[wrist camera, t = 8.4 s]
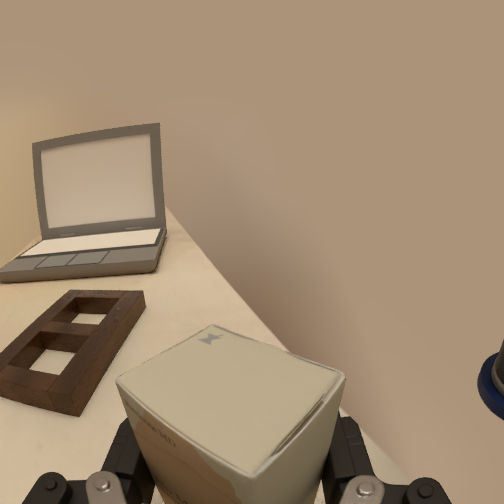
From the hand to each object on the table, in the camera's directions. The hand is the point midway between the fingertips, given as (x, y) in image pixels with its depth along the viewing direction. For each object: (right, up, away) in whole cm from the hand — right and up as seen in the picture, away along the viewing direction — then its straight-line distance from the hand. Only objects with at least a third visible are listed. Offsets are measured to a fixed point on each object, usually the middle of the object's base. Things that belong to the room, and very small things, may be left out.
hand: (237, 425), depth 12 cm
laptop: (-35, +5, +54) cm, 64 cm away
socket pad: (-20, -4, +21) cm, 29 cm away
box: (0, -7, 0) cm, 7 cm away
